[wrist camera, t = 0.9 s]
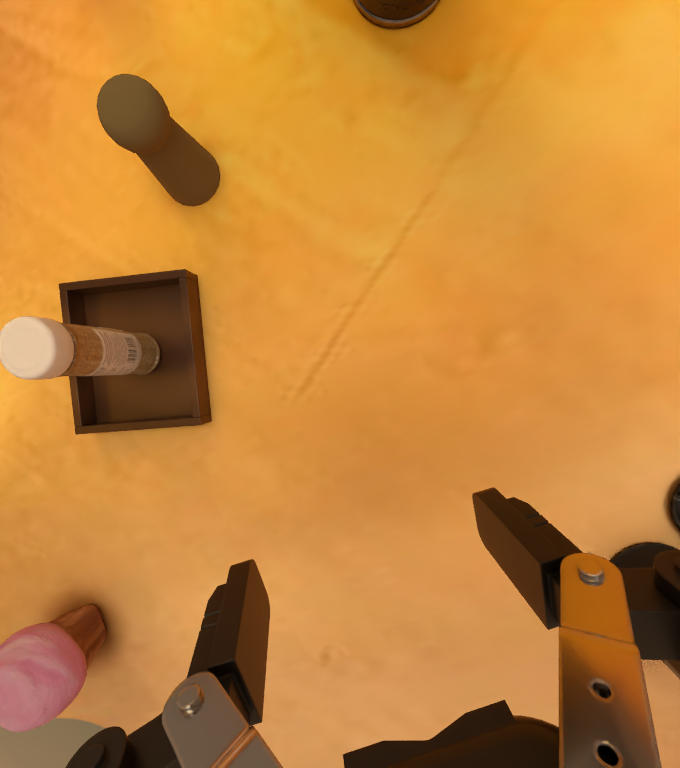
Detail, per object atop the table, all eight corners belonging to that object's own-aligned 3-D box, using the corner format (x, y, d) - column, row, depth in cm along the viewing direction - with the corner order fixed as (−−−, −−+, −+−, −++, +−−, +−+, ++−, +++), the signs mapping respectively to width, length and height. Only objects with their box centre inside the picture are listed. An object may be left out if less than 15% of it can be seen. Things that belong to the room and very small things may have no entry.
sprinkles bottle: (126, 329, 39) (-2, 309, 26) (166, 337, 39) (57, 321, 25) (119, 371, 39) (-11, 372, 26) (158, 379, 39) (47, 385, 25)
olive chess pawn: (174, 214, 38) (96, 152, 27) (157, 159, 38) (71, 74, 27) (227, 194, 38) (168, 123, 27) (209, 138, 38) (143, 44, 27)
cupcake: (103, 575, 41) (17, 643, 31) (138, 644, 41) (63, 733, 31) (39, 606, 42) (-65, 682, 32) (74, 674, 42) (-20, 770, 32)
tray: (77, 288, 40) (58, 283, 37) (197, 275, 38) (185, 268, 36) (93, 430, 40) (75, 434, 38) (211, 421, 39) (200, 425, 36)
